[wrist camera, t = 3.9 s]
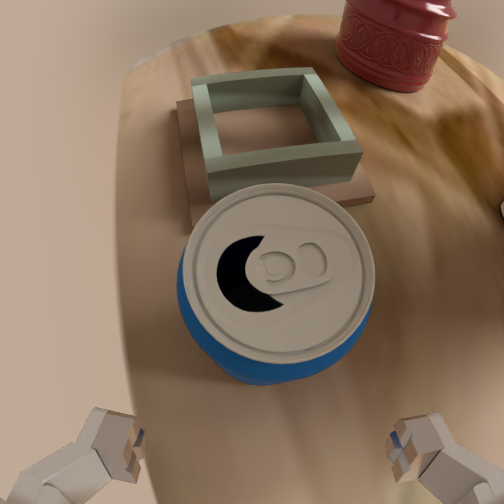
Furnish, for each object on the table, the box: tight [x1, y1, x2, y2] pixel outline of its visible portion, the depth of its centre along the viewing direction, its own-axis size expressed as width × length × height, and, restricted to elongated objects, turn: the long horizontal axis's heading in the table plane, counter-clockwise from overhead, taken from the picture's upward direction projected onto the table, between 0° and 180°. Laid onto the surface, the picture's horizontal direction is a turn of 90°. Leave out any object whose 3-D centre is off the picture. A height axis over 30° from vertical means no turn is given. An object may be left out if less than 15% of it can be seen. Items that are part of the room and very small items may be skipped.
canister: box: [336, 0, 457, 92], centre depth 26 cm, size 13×13×18 cm
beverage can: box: [177, 183, 375, 386], centre depth 15 cm, size 6×6×12 cm
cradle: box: [176, 67, 375, 229], centre depth 24 cm, size 14×14×4 cm
